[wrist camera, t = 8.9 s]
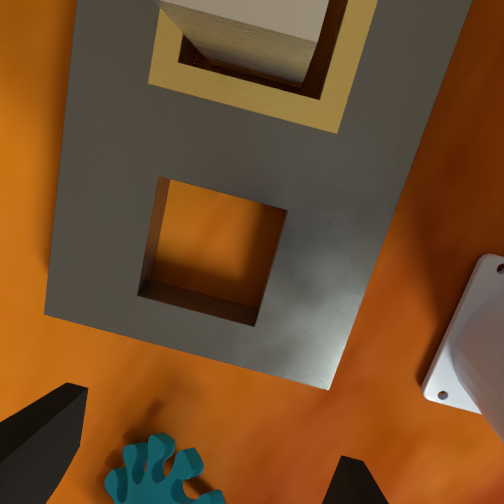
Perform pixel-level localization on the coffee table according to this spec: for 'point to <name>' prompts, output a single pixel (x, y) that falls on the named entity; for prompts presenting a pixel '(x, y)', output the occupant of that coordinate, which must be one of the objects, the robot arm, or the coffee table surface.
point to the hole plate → (239, 176)
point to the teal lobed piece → (157, 475)
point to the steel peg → (252, 34)
